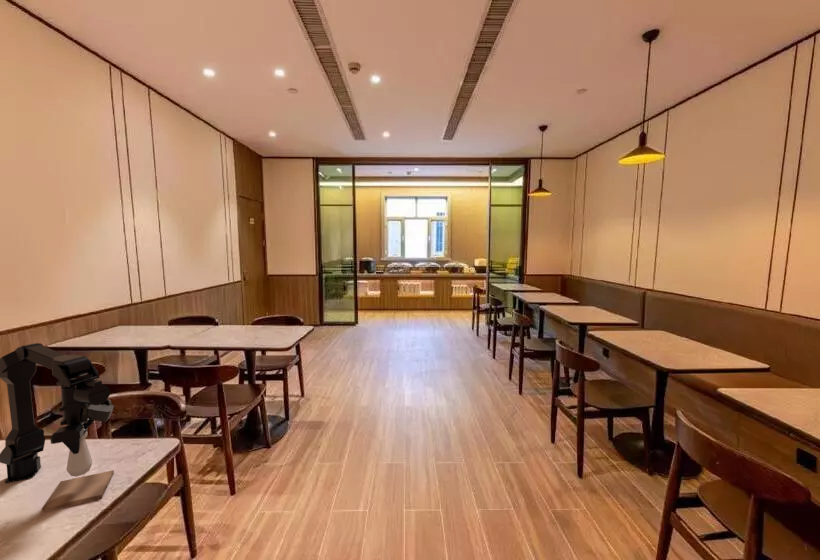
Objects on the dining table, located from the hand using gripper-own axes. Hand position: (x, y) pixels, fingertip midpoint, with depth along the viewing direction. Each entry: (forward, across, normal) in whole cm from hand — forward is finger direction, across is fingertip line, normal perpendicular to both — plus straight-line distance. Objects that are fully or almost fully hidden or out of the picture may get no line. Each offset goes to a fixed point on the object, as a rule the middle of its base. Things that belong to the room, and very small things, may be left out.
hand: (78, 450), depth 108 cm
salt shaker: (+7, 0, 0) cm, 7 cm away
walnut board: (+13, 0, 0) cm, 13 cm away
